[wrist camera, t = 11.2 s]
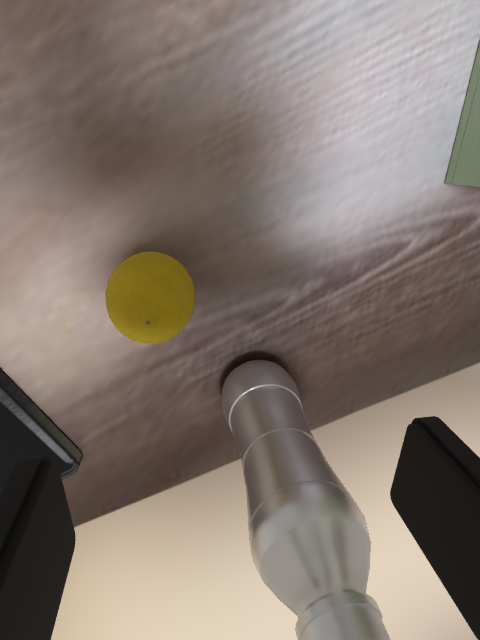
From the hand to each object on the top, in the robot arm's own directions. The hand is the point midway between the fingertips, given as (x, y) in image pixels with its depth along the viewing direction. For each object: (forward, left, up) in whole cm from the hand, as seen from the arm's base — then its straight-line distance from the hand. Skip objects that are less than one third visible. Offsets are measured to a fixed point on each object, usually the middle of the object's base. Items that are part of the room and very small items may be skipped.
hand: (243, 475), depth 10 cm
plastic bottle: (+11, +5, -20) cm, 23 cm away
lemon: (+1, -3, -20) cm, 20 cm away
